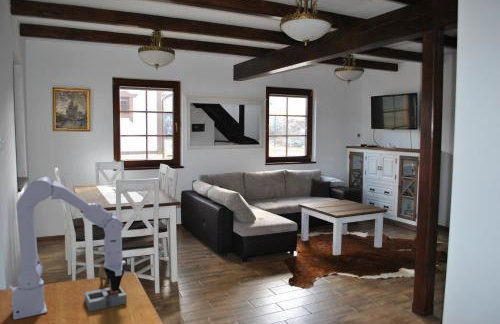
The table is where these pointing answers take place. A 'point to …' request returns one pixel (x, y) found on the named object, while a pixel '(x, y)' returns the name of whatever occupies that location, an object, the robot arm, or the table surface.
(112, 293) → the peg
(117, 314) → the table surface
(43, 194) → the robot arm
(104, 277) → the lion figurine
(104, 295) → the hole block
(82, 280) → the table surface
